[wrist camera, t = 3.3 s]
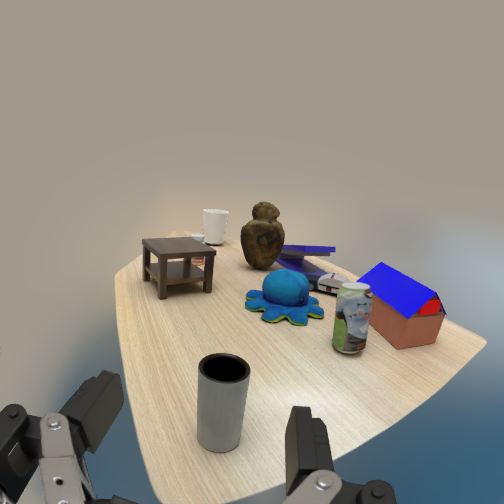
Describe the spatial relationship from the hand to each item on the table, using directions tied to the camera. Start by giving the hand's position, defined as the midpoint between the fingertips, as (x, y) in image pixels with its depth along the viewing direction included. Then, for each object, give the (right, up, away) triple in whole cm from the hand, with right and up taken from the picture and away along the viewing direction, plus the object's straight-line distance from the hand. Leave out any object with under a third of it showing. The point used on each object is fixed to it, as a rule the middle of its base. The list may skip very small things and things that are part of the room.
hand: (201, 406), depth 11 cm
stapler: (+17, +2, +84) cm, 86 cm away
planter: (-1, -13, +15) cm, 20 cm away
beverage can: (+18, -10, +36) cm, 42 cm away
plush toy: (+9, -5, +51) cm, 52 cm away
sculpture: (+4, +2, +77) cm, 77 cm away
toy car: (+22, -4, +63) cm, 67 cm away
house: (+33, -10, +46) cm, 58 cm away
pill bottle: (-14, +3, +74) cm, 76 cm away
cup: (-13, +10, +100) cm, 101 cm away
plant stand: (-16, -1, +55) cm, 57 cm away
